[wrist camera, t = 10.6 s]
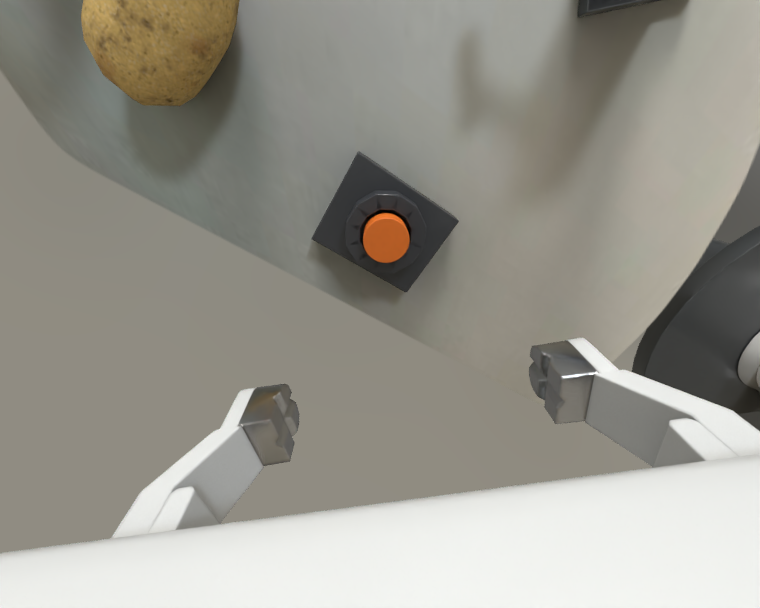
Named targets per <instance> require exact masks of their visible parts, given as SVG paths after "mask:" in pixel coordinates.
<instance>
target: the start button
mask: <svg viewBox="0 0 760 608" xmlns="http://www.w3.org/2000/svg"><path fill="white" fill-rule="evenodd" d="M409 242H410V238H409V233H408V230H407V228H406V225H405V223H404V222H403V221H402V219H401V218H399V217H398V216H396V215H394V214H391V213H380V214H377V215H375V216H374V217H372V218H371V219H370V220H369V221H368V222H367V224H366V226H365V228H364V234H363V245H364V248H365V251H366V252H367V254H368V255H369V256H370V257H371V258H372V259H374V260H376V261H378V262H382V263H390V262H394V261H396V260H398V259H400V258H401V257H402V256H403V255H404V254H405V253H406V251H407V249H408V247H409Z"/></svg>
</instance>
